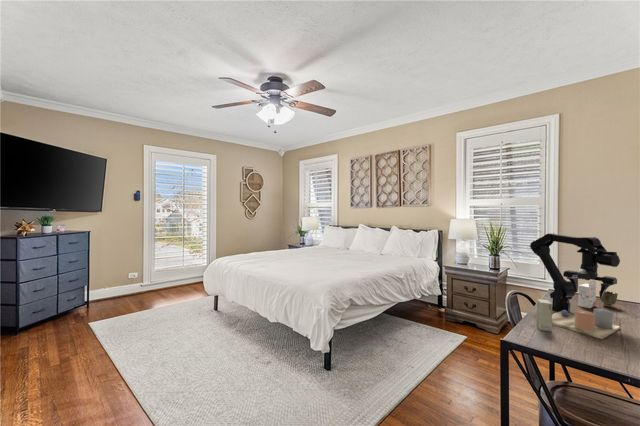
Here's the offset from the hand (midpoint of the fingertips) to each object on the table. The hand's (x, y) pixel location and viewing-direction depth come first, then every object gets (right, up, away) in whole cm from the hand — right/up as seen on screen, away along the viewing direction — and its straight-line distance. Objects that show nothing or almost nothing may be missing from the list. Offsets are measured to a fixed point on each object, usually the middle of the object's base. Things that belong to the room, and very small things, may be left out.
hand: (588, 294), depth 144 cm
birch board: (-11, -12, -7) cm, 18 cm away
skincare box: (-31, -12, -12) cm, 36 cm away
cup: (+29, -12, +20) cm, 37 cm away
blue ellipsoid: (-11, -9, +1) cm, 14 cm away
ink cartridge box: (+17, -12, +20) cm, 29 cm away
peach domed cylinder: (-15, -11, -14) cm, 23 cm away
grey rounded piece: (-4, -11, -11) cm, 16 cm away
